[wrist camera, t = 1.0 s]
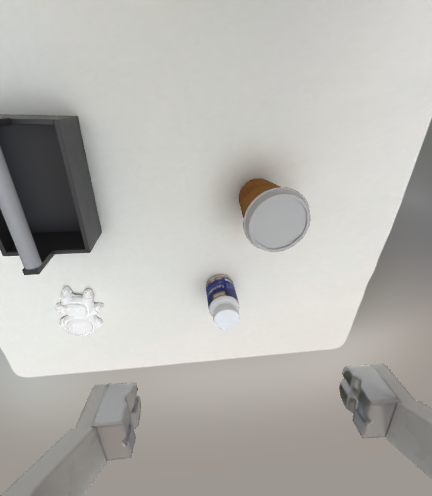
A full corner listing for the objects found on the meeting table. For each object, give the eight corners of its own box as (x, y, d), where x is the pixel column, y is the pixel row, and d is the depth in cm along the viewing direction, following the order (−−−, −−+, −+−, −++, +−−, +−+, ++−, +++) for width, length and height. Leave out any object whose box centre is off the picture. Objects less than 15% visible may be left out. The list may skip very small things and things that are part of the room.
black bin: (-18, 113, 35) (-100, 119, 24) (77, 115, 36) (38, 121, 26) (27, 235, 44) (-20, 277, 33) (101, 232, 45) (80, 272, 35)
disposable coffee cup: (236, 227, 48) (252, 262, 38) (224, 178, 43) (238, 202, 33) (285, 212, 48) (315, 243, 38) (279, 161, 43) (311, 181, 33)
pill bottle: (217, 269, 52) (225, 302, 44) (238, 282, 55) (249, 316, 46) (199, 288, 54) (204, 323, 45) (220, 299, 56) (228, 335, 48)
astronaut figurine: (105, 289, 51) (101, 299, 48) (101, 332, 56) (97, 344, 54) (56, 283, 49) (49, 293, 46) (56, 329, 54) (50, 340, 52)
